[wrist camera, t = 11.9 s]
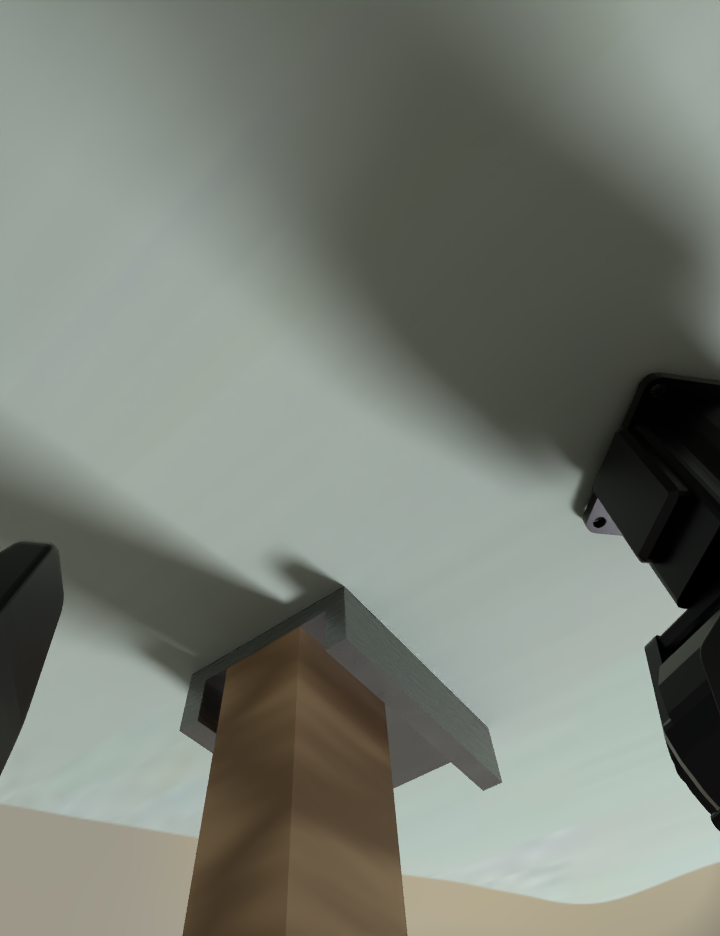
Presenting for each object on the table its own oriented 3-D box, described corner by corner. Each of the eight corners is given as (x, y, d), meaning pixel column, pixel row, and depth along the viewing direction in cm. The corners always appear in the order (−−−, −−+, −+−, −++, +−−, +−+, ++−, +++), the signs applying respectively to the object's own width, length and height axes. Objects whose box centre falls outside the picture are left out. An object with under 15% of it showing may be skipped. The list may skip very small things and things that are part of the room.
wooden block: (299, 626, 25) (274, 1173, 13) (384, 699, 28) (434, 1212, 15) (227, 668, 26) (136, 1210, 14) (315, 735, 29) (307, 1240, 16)
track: (192, 675, 28) (179, 730, 25) (344, 586, 25) (346, 638, 23) (350, 792, 33) (352, 847, 31) (488, 728, 31) (502, 782, 28)
